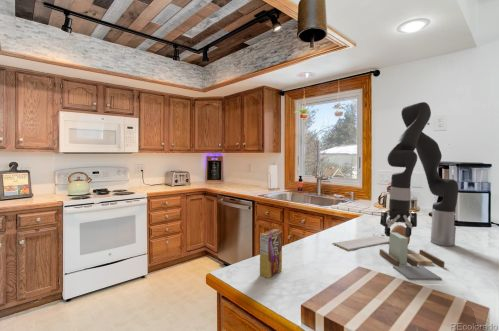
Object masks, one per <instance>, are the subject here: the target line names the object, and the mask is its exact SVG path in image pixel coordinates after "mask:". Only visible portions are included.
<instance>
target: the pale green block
mask: <svg viewBox="0 0 499 331" xmlns="http://www.w3.org/2000/svg"><path fill="white" fill-rule="evenodd" d="M388 239H389V243H388V254H390V255H391V256H393V257H394V258H396V259H397V260H399V261H400V265H407V264H408V263H407V254H408V247H409V244H408V238H406V237H404V236H402V235H400V234H398V233H394V232H391V231H390V237H389V238H388Z"/></svg>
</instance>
